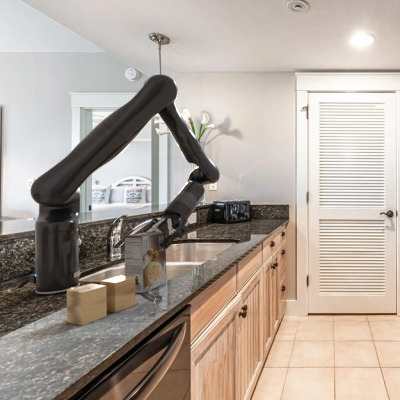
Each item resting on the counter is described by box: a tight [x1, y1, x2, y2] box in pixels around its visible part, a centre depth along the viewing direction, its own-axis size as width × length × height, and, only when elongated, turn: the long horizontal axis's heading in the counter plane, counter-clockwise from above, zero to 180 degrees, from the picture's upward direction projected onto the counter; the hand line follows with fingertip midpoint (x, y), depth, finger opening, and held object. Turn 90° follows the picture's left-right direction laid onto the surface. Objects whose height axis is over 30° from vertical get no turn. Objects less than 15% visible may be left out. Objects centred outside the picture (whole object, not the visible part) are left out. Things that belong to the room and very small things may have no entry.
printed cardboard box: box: [123, 231, 167, 294], centre depth 85 cm, size 9×6×16 cm
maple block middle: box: [99, 275, 136, 314], centre depth 70 cm, size 5×5×7 cm
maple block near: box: [66, 283, 108, 326], centre depth 64 cm, size 5×5×7 cm
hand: (152, 246), depth 88 cm, fingers open, 8 cm apart
